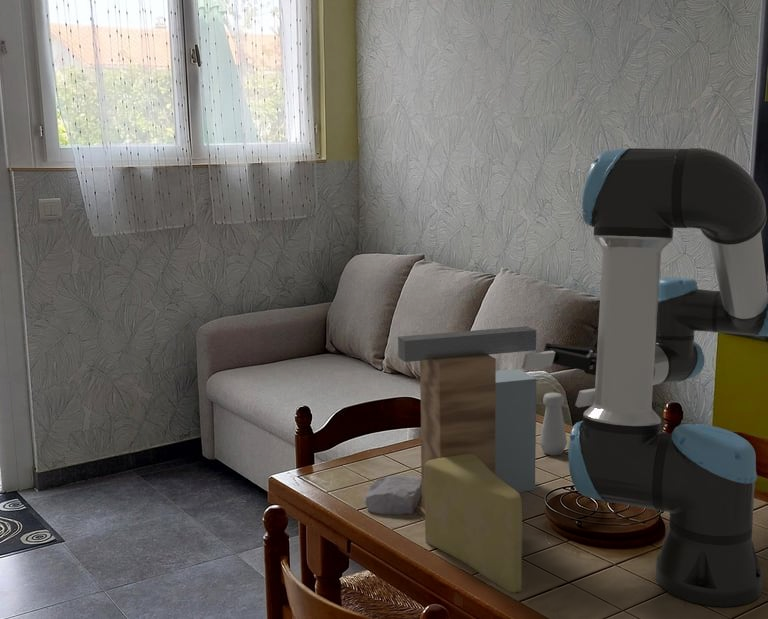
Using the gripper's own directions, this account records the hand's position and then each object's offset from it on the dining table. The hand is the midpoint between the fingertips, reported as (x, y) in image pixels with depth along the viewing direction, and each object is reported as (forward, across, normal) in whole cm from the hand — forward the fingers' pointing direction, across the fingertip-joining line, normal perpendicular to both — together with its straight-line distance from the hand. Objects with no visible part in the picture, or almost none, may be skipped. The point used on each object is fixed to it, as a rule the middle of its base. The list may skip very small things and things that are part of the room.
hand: (550, 379), depth 152 cm
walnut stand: (+9, +4, -29) cm, 31 cm away
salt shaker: (-30, +20, -32) cm, 48 cm away
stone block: (+13, +17, -34) cm, 40 cm away
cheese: (+16, -10, -26) cm, 32 cm away
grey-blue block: (-6, +12, -31) cm, 34 cm away
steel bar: (+8, +12, 0) cm, 15 cm away
